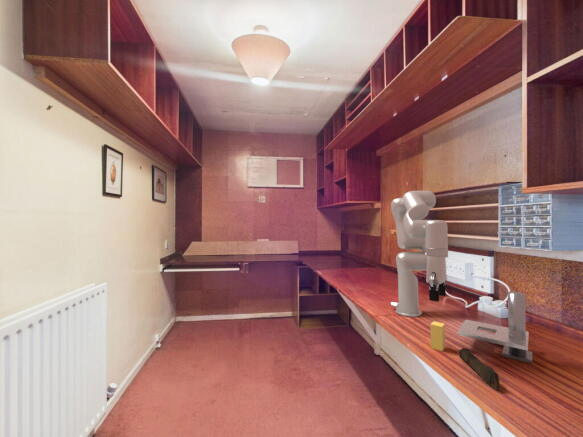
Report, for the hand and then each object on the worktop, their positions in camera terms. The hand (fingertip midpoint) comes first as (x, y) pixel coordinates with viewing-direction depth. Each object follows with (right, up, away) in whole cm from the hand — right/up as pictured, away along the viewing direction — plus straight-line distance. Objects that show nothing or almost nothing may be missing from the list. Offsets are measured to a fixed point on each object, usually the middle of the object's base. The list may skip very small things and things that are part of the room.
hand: (437, 298), depth 106 cm
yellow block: (0, -19, 0) cm, 19 cm away
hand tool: (+4, -19, -18) cm, 26 cm away
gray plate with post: (+20, -18, -3) cm, 27 cm away
